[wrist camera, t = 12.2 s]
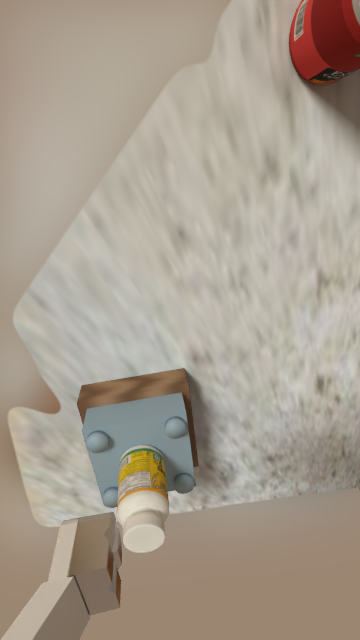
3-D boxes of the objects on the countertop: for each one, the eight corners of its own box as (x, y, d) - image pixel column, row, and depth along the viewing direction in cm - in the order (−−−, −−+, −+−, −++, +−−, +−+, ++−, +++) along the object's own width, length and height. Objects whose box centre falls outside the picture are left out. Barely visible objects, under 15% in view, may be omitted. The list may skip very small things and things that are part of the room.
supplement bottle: (116, 447, 38) (110, 525, 29) (161, 439, 38) (169, 514, 29) (123, 480, 40) (120, 562, 31) (166, 472, 40) (175, 551, 31)
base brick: (183, 368, 44) (188, 384, 41) (193, 445, 50) (198, 465, 46) (81, 385, 43) (76, 403, 39) (103, 462, 49) (100, 484, 45)
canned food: (306, 103, 34) (379, 67, 24) (272, 22, 31) (338, -59, 21) (369, 55, 33) (473, -4, 23) (340, -33, 30) (445, -146, 20)
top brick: (181, 392, 41) (187, 417, 36) (190, 462, 46) (197, 492, 41) (86, 408, 40) (80, 437, 35) (106, 478, 45) (103, 511, 40)
